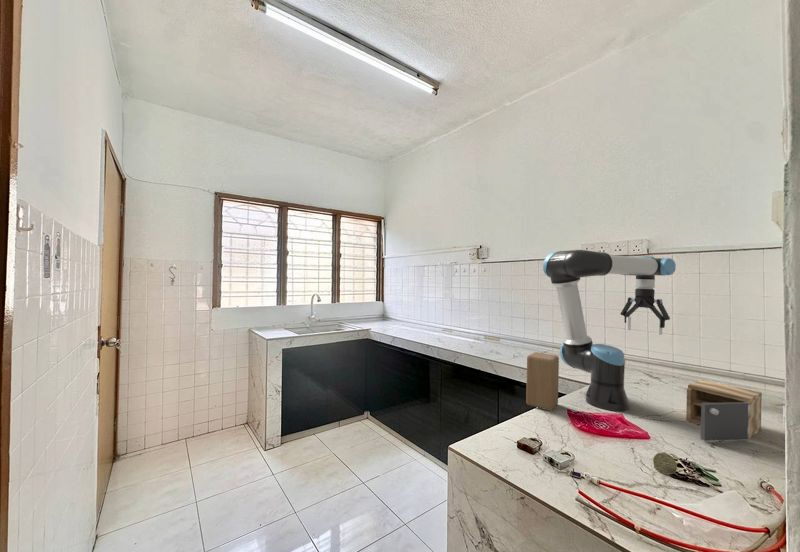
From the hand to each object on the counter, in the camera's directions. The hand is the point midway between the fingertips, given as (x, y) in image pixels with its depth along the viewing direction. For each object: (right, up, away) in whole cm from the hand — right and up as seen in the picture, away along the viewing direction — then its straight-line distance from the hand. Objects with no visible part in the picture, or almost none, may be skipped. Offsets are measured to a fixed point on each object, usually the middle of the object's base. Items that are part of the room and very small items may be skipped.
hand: (643, 332), depth 160 cm
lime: (-47, -25, -72) cm, 90 cm away
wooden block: (-60, -25, -26) cm, 70 cm away
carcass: (-3, -26, -42) cm, 50 cm away
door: (-13, -25, -55) cm, 62 cm away
